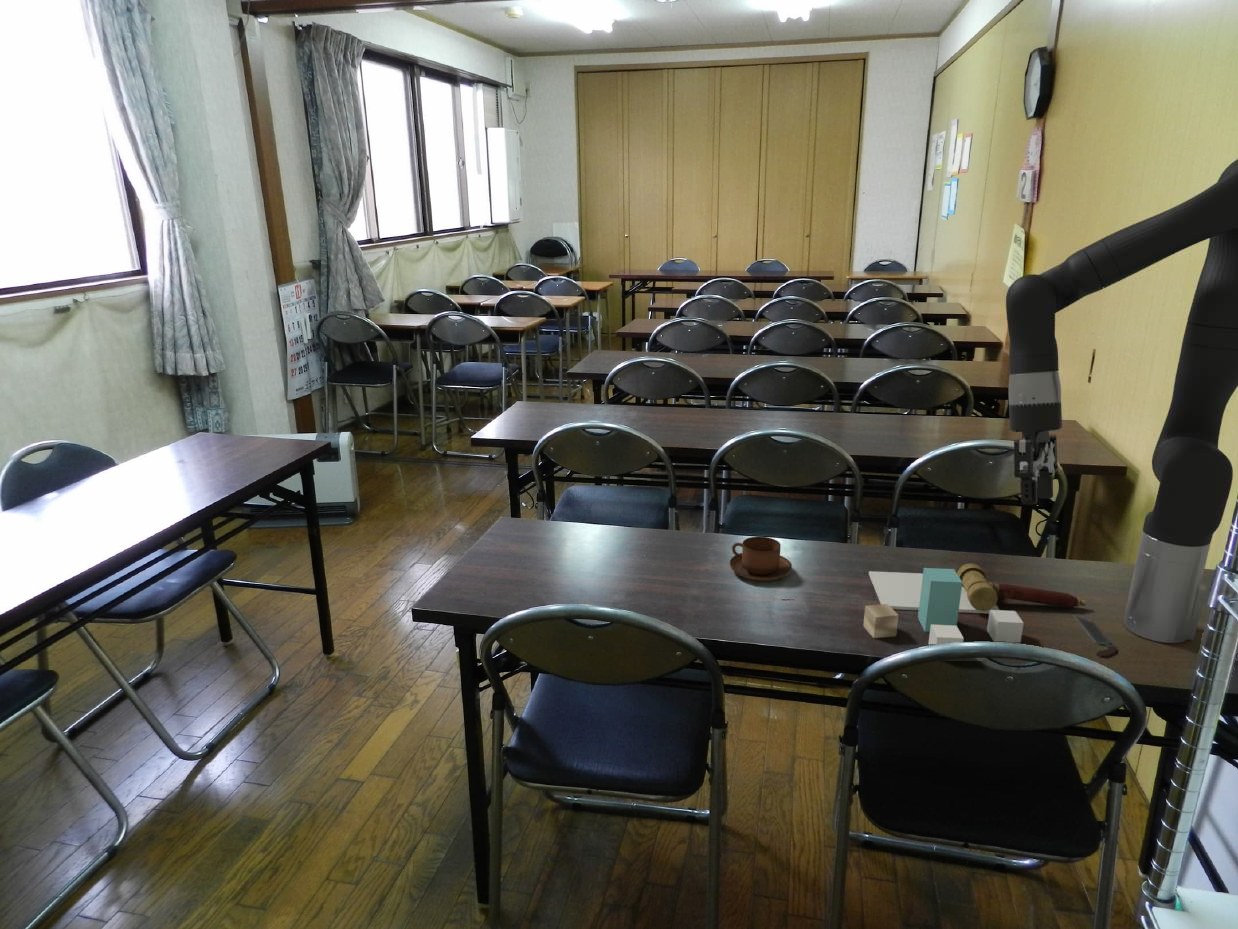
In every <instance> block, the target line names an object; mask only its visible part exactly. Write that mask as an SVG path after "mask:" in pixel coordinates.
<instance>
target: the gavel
mask: <svg viewBox="0 0 1238 929" xmlns="http://www.w3.org/2000/svg"><path fill="white" fill-rule="evenodd" d="M956 573H957V574H958V576H959V578H960V579H961V581H962V582H963V583H962V587H964V588H965V590H966V592H967V597H968V600H969V602H970V604H971V605H972V606H973V607H974V608H975V609H977V610H982V611H984V610H989V609H991V608H992V607H994V606H995V604H996V605H997V603H998V597H1001V598H1003V599H1009V600H1016V601H1022V602H1028V603H1035V604H1040V605H1041V604H1042V605H1047V606H1054V607H1059V608H1060V607H1061V608H1065V609H1066V608H1067V609H1068V608H1075V607H1078V608H1079V607H1080V606H1082V607H1085V606H1086V605H1087V601H1086V600H1084V599H1082V600H1081V598H1079V597H1077V596H1075V595H1072V594H1070V593H1067V592H1060V591H1054V590H1048V589H1041V588H1035V587H1028V586H1022V585H1015V584H1010V583H995V582H991V581H990V582H989V581H988V580H987V579H986V578H987V576H986V574H985V572H984V570H983V569H982V567H981V566H980V565H978V564H975V563H972V562H970V563H965V564H964V565H961V566H960V567H959V569H958V570H957V572H956Z"/></svg>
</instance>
